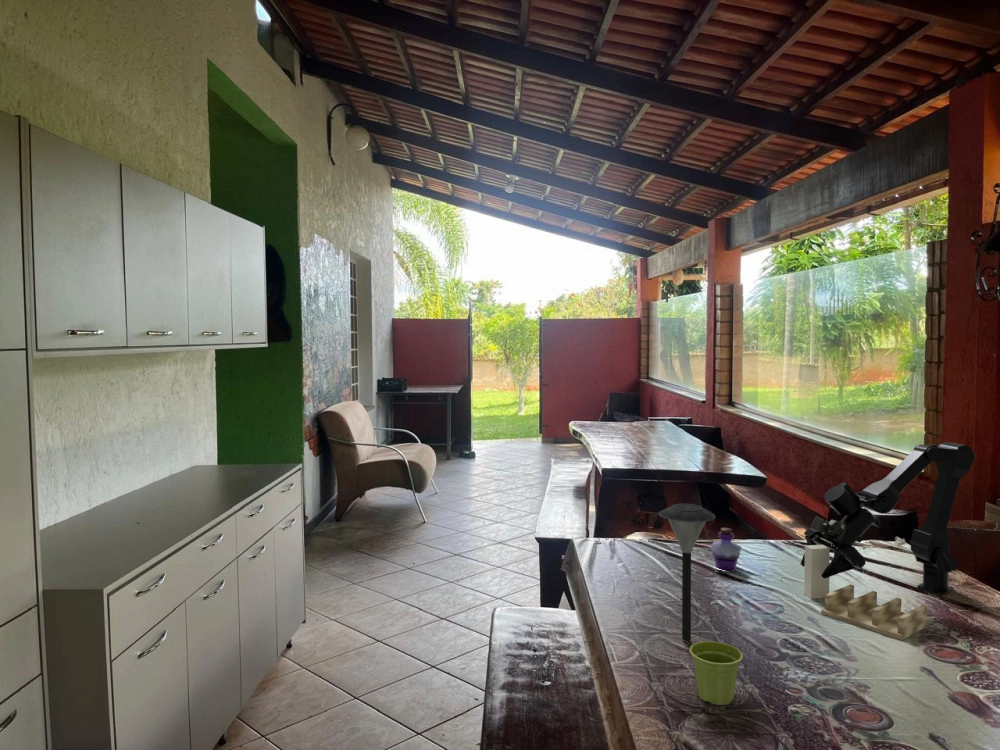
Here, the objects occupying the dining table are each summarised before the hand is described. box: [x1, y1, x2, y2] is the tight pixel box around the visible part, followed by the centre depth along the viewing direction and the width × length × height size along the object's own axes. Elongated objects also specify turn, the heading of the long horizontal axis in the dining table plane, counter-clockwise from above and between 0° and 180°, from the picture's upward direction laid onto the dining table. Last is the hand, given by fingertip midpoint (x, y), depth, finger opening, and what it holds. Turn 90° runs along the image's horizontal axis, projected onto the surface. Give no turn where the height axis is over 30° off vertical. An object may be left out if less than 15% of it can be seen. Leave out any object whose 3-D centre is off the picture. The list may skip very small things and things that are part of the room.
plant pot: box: [689, 640, 744, 706], centre depth 125 cm, size 9×9×9 cm
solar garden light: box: [658, 503, 717, 642], centre depth 149 cm, size 12×12×30 cm
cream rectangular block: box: [803, 544, 831, 600], centre depth 174 cm, size 5×3×13 cm, turn 97°
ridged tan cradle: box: [820, 583, 931, 641], centre depth 160 cm, size 14×18×4 cm
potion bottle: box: [710, 527, 742, 571], centre depth 196 cm, size 9×9×12 cm
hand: (811, 571), depth 174 cm, fingers open, 9 cm apart
